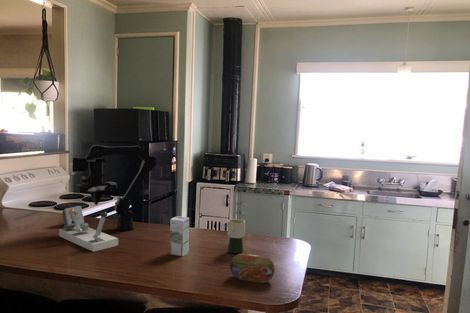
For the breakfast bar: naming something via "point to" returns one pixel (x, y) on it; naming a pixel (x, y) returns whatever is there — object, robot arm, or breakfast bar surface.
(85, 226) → the push button
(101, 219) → the lever
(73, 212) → the copper ball joystick
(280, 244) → the breakfast bar surface
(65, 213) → the electrical switch
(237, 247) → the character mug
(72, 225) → the block
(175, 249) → the syrup box
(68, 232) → the control panel
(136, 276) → the breakfast bar surface
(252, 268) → the tin
